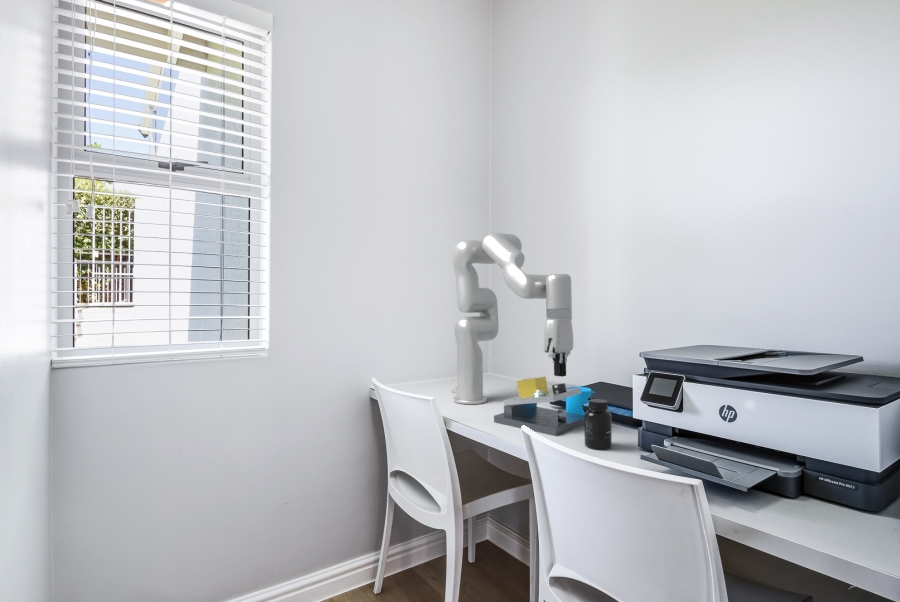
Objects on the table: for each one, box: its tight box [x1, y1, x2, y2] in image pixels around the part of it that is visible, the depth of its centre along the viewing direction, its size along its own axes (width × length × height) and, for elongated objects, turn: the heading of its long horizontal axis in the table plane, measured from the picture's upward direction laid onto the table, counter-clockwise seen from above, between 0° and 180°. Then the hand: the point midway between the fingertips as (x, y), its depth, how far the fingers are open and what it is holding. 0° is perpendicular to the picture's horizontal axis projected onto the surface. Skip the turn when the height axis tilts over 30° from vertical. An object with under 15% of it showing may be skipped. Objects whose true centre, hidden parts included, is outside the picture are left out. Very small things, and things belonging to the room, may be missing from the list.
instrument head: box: [503, 376, 581, 406], centre depth 150 cm, size 18×16×7 cm
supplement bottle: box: [584, 398, 613, 451], centre depth 126 cm, size 7×7×12 cm
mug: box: [565, 386, 596, 416], centre depth 162 cm, size 12×8×8 cm
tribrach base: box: [493, 403, 585, 437], centre depth 150 cm, size 22×19×5 cm
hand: (560, 375), depth 145 cm, fingers closed
